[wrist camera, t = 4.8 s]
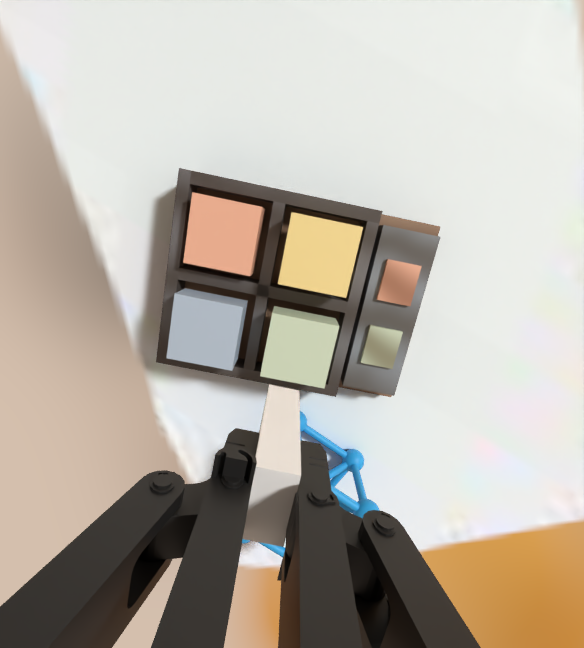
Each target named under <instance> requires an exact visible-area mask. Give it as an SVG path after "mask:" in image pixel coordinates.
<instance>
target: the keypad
mask: <svg viewBox="0 0 584 648" xmlns="http://www.w3.org/2000/svg"><path fill="white" fill-rule="evenodd" d="M192 192H194V193H198V194H203V195H208V196H213V197H217V198H222V199H227V200H232V201H236V202H241V203H246V204H251V205H255V206H260V207H263V208H264V209H265V214H264V220H263V225H262V231H261V237H260V242H259V248H258V254H257V259H256V265H255V271H254V273H253V274H252V275H251V276H246V275H241V274H236V273H231V272H227V271H222V270H217V269H212V268H207V267H202V266H197V265H192V264H187V263H183V260H184V253H185V245H186V237H187V229H188V221H189V214H190V206H191V198H192ZM292 212H293V213H298V214H303V215H308V216H312V217H317V218H322V219H327V220H332V221H336V222H341V223H346V224H351V225H355V226H360V227H363V230H362V234H361V239H360V243H359V247H358V251H357V255H356V259H355V263H354V268H353V272H352V276H351V280H350V284H349V288H348V293H347V297H346V298H344V297H339V296H334V295H329V294H324V293H319V292H314V291H309V290H305V289H300V288H295V287H290V286H285V285H280V284H278V280H279V275H280V270H281V265H282V259H283V254H284V249H285V244H286V239H287V233H288V228H289V223H290V218H291V213H292ZM439 230H440V227H439V226H434V225H430V224H425V223H420V222H416V221H411V220H406V219H401V218H397V217H392V216H387V215H383V214H382V211H379V210H374V209H369V208H365V207H360V206H355V205H350V204H346V203H341V202H336V201H332V200H327V199H322V198H317V197H313V196H308V195H303V194H299V193H294V192H289V191H284V190H280V189H275V188H270V187H266V186H261V185H256V184H251V183H247V182H242V181H237V180H233V179H228V178H223V177H218V176H214V175H209V174H204V173H200V172H195V171H190V170H185V169H181V168H179V173H178V181H177V190H176V198H175V207H174V215H173V224H172V232H171V241H170V249H169V258H168V266H167V275H166V283H165V291H164V300H163V308H162V317H161V325H160V334H159V342H158V351H157V359H156V362H158V363H163V364H168V365H174V366H179V367H184V368H189V369H195V370H200V371H205V372H210V373H215V374H221V375H226V376H231V377H236V378H242V379H247V380H252V381H257V382H262V383H268V384H273V385H278V386H283V387H288V388H294V389H299V390H304V391H309V392H315V393H320V394H325V395H330V396H335V397H336V394H337V390H338V387H342V388H347V389H352V390H357V391H363V392H368V393H373V394H378V395H383V396H388V397H391V395H393V396H394V394H395V391H396V387H397V384H398V380H399V377H400V374H401V370H402V367H403V363H404V360H405V356H406V353H407V350H408V346H409V343H410V339H411V336H412V332H413V329H414V326H415V322H416V319H417V315H418V312H419V308H420V305H421V302H422V298H423V295H424V291H425V288H426V284H427V281H428V278H429V274H430V271H431V267H432V264H433V260H434V257H435V254H436V250H437V247H438V243H439V240H440V237H439V236H438V233H439ZM185 288H187V289H192V290H197V291H202V292H207V293H212V294H217V295H222V296H227V297H232V298H237V299H242V300H247V301H248V303H247V308H246V314H245V320H244V326H243V331H242V337H241V343H240V348H239V354H238V359H237V361H236V364H235V366H234V368H233V370H232V371H230V370H225V369H220V368H215V367H210V366H204V365H199V364H194V363H189V362H184V361H178V360H173V359H168V358H167V350H168V342H169V334H170V326H171V318H172V310H173V302H174V294H175V293H177V292H179V291H181V290H183V289H185ZM274 306H277V307H282V308H287V309H292V310H297V311H302V312H307V313H312V314H317V315H322V316H327V317H332V318H336V320H337V322H338V324H339V330H338V334H337V338H336V342H335V347H334V351H333V355H332V359H331V363H330V367H329V372H328V376H327V380H326V384H325V388H319V387H314V386H308V385H303V384H298V383H293V382H288V381H282V380H277V379H272V378H267V377H262V376H260V374H261V368H262V363H263V358H264V353H265V348H266V342H267V337H268V332H269V327H270V322H271V316H272V312H273V309H274Z"/></svg>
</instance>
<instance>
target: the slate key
mask: <svg viewBox="0 0 584 648" xmlns="http://www.w3.org/2000/svg"><path fill="white" fill-rule="evenodd" d="M247 303H248V301H247V300H242V299H237V298H232V297H227V296H222V295H217V294H212V293H207V292H202V291H197V290H192V289H187V288H185V289H183V290H181V291H179V292H177V293H175V294H174V302H173V310H172V318H171V326H170V334H169V342H168V350H167V358H168V359H173V360H178V361H184V362H189V363H194V364H199V365H204V366H210V367H215V368H220V369H225V370H230V371H232V370H233V368H234V366H235V364H236V361H237V359H238V354H239V348H240V343H241V337H242V331H243V326H244V320H245V314H246V308H247Z"/></svg>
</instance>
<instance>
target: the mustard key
mask: <svg viewBox="0 0 584 648" xmlns="http://www.w3.org/2000/svg"><path fill="white" fill-rule="evenodd" d="M362 230H363V227H360V226H355V225H351V224H346V223H341V222H336V221H332V220H327V219H322V218H317V217H312V216H308V215H303V214H298V213H293V212H292V213H291V218H290V223H289V228H288V233H287V239H286V244H285V249H284V254H283V259H282V265H281V270H280V275H279V280H278V284H280V285H285V286H290V287H295V288H300V289H305V290H309V291H314V292H319V293H324V294H329V295H334V296H339V297H344V298H346V297H347V293H348V288H349V284H350V280H351V276H352V272H353V268H354V263H355V259H356V255H357V251H358V247H359V243H360V239H361V234H362Z"/></svg>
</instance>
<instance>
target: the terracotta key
mask: <svg viewBox="0 0 584 648" xmlns="http://www.w3.org/2000/svg"><path fill="white" fill-rule="evenodd" d="M264 214H265V209H264V208H263V207H260V206H255V205H251V204H246V203H241V202H236V201H232V200H227V199H222V198H217V197H213V196H208V195H203V194H198V193H194V192H192V198H191V206H190V214H189V221H188V229H187V237H186V245H185V253H184V260H183V263H187V264H192V265H197V266H202V267H207V268H212V269H217V270H222V271H227V272H231V273H236V274H241V275H246V276H251V275H252V274H253V273H254V271H255V265H256V259H257V254H258V248H259V242H260V237H261V231H262V225H263V220H264Z"/></svg>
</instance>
